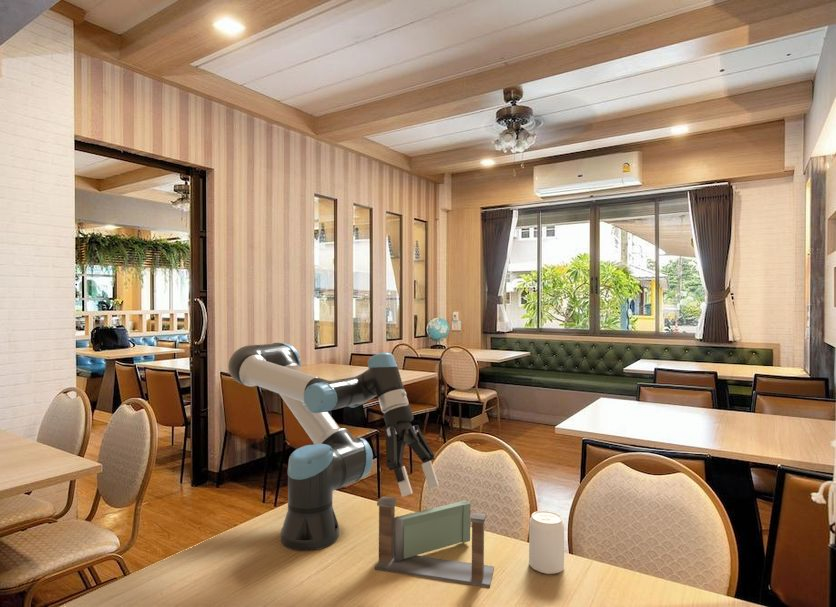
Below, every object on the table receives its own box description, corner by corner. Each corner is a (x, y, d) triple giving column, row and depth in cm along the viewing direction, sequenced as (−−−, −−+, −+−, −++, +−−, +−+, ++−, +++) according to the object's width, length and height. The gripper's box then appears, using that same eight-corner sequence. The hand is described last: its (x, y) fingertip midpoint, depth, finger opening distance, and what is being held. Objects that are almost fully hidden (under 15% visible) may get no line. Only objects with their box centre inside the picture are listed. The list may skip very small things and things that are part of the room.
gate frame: (383, 552, 126) (384, 494, 126) (493, 568, 119) (494, 506, 119) (372, 569, 118) (373, 506, 118) (490, 587, 111) (490, 520, 111)
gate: (392, 557, 121) (392, 517, 121) (464, 537, 132) (465, 500, 132) (397, 562, 119) (397, 521, 119) (470, 540, 130) (470, 503, 130)
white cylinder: (565, 578, 115) (565, 526, 115) (529, 573, 117) (529, 522, 116) (562, 560, 123) (563, 511, 123) (528, 556, 125) (529, 508, 124)
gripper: (381, 404, 120) (408, 494, 113) (430, 404, 141) (455, 480, 134) (357, 415, 123) (381, 503, 115) (408, 413, 144) (432, 488, 137)
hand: (421, 491), depth 125 cm, fingers open, 13 cm apart
